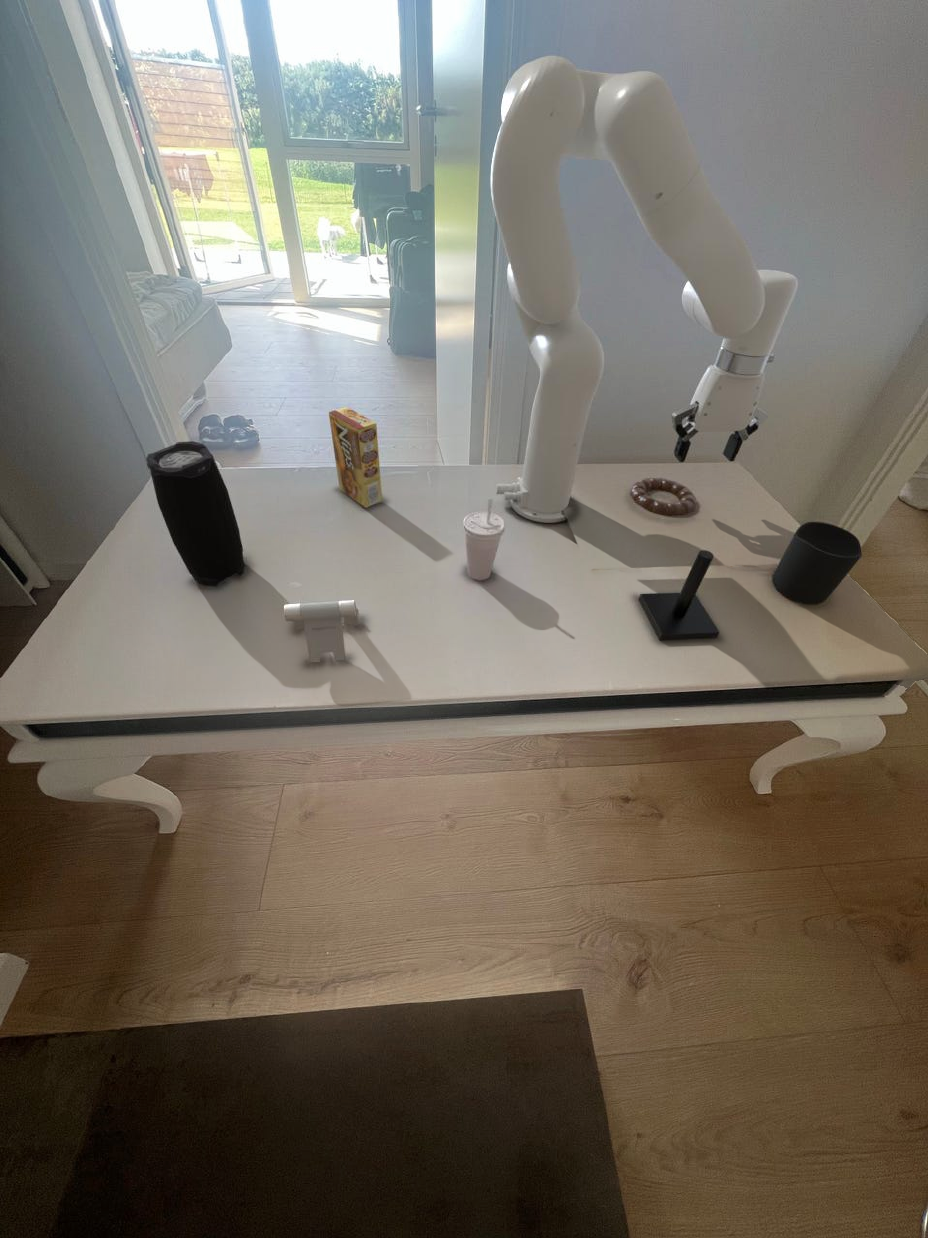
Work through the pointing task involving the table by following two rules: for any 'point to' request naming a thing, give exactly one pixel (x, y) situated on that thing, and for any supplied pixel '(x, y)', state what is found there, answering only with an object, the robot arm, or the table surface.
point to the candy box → (356, 456)
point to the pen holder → (816, 562)
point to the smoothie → (482, 541)
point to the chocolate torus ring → (663, 508)
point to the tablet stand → (323, 625)
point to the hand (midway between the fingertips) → (703, 458)
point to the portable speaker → (197, 511)
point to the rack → (681, 607)
